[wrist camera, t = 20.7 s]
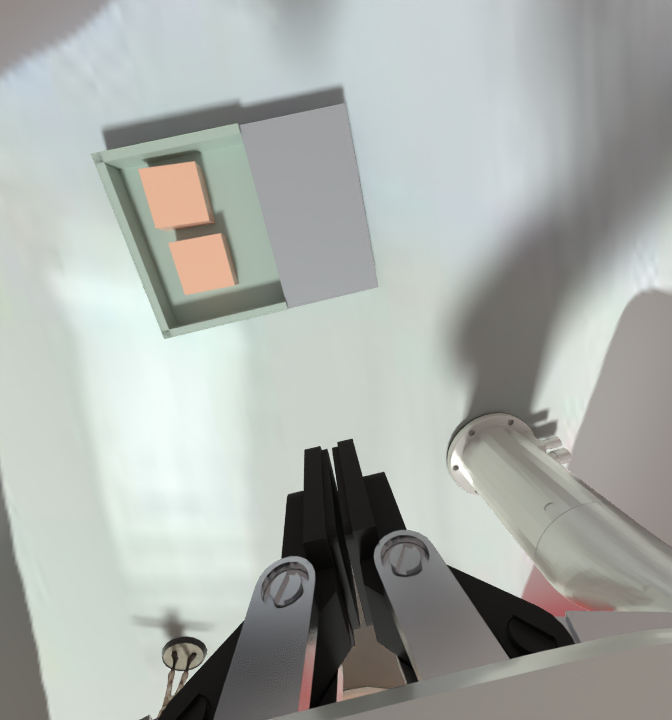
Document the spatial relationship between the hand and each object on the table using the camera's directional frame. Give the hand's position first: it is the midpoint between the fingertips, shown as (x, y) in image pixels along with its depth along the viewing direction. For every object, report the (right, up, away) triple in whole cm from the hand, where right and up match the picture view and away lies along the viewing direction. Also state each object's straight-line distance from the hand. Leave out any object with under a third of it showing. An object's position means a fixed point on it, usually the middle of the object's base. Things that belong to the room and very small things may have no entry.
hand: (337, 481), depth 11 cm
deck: (-2, +19, +24) cm, 31 cm away
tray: (-14, +17, +23) cm, 31 cm away
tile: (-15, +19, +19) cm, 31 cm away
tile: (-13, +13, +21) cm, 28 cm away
